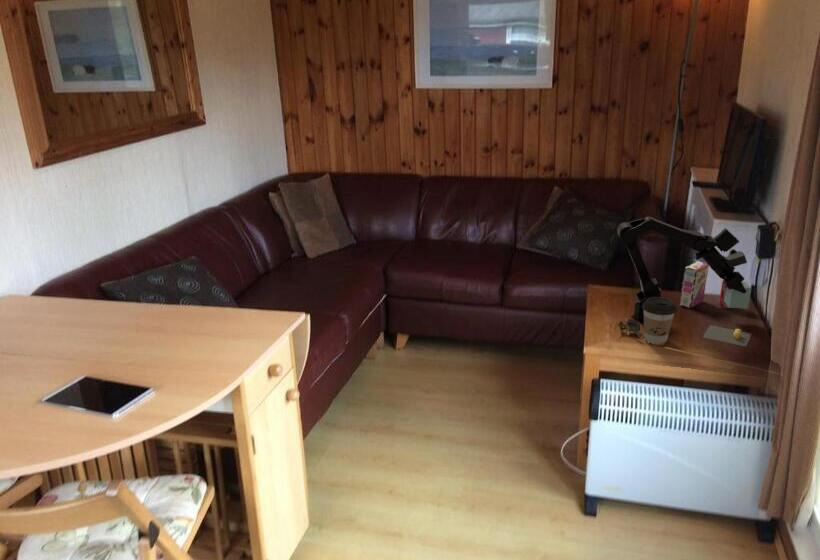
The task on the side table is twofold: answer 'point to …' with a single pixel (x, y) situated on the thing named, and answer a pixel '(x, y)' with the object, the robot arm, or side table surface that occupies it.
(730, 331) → the mat
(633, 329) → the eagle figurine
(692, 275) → the candy bar box
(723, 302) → the beverage can
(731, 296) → the block
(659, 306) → the coffee cup
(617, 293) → the side table surface
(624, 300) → the side table surface
